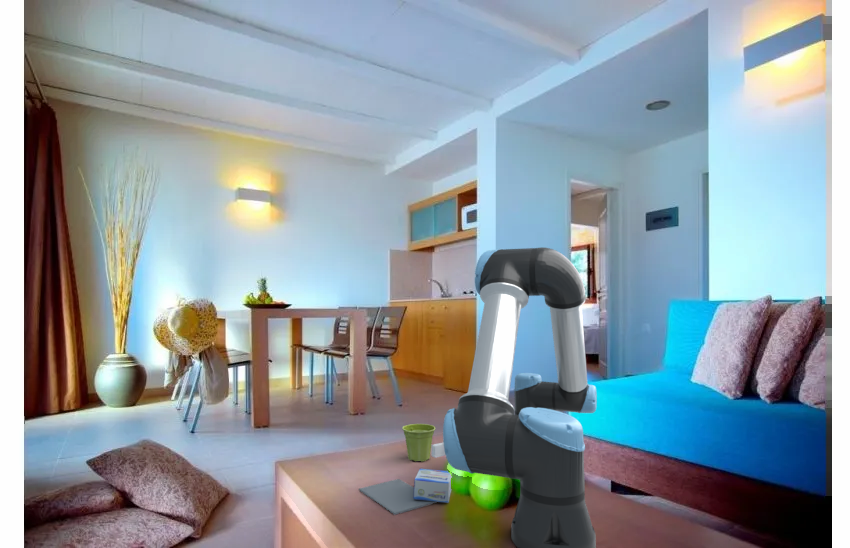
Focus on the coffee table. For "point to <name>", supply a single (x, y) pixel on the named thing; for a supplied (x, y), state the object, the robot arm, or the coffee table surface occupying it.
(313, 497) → the coffee table surface
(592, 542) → the robot arm
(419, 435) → the plant pot
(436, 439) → the coffee table surface
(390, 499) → the mat
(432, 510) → the coffee table surface
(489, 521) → the coffee table surface
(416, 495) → the medicine box
